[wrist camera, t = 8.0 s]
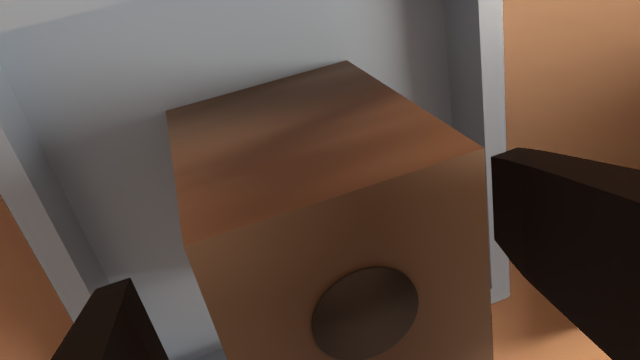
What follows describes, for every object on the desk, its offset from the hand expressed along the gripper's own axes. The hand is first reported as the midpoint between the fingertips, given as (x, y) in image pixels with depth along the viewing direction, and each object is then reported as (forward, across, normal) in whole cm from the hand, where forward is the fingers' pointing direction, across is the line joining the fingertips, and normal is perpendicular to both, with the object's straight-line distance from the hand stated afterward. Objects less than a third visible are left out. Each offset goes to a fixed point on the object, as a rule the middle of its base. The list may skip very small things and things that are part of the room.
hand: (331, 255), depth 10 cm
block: (+4, 0, 0) cm, 4 cm away
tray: (+4, 0, 0) cm, 5 cm away
